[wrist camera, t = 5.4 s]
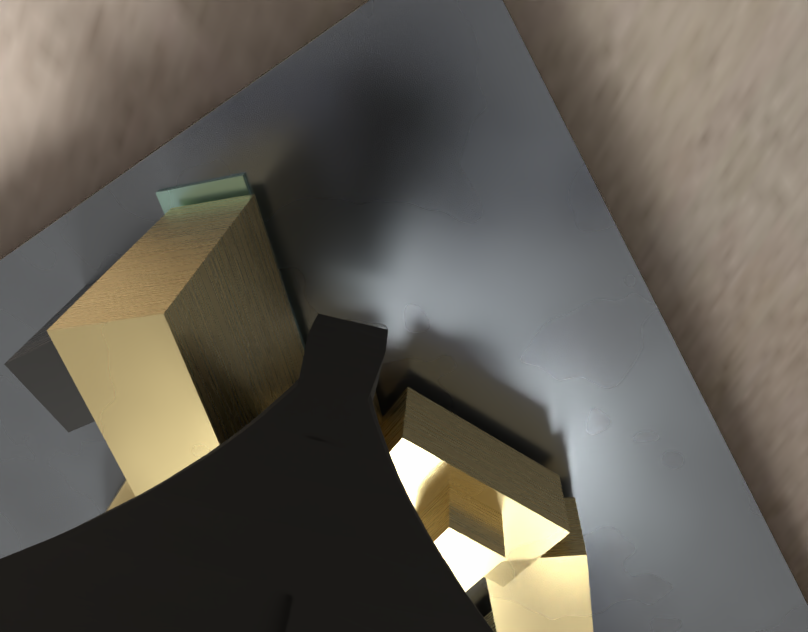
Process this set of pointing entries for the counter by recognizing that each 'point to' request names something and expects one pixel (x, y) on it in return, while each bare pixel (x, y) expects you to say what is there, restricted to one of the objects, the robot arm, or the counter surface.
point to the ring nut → (274, 374)
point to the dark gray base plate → (427, 303)
